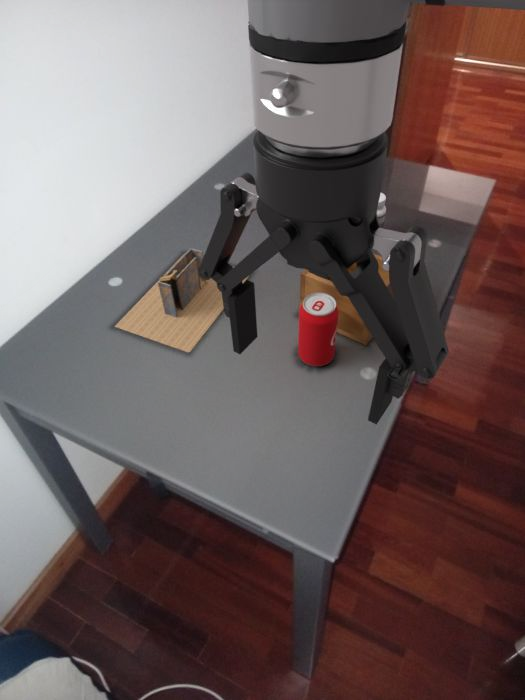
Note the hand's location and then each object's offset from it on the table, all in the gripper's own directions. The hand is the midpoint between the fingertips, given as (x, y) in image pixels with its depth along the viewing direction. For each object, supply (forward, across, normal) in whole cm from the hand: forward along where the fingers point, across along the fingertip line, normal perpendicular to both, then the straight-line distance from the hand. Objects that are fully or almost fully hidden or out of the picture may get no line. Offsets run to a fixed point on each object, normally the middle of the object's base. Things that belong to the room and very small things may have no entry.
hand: (308, 375), depth 43 cm
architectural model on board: (+30, -43, +26) cm, 58 cm away
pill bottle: (+31, -23, +64) cm, 74 cm away
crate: (+30, -15, +40) cm, 52 cm away
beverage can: (+30, -14, +27) cm, 43 cm away
